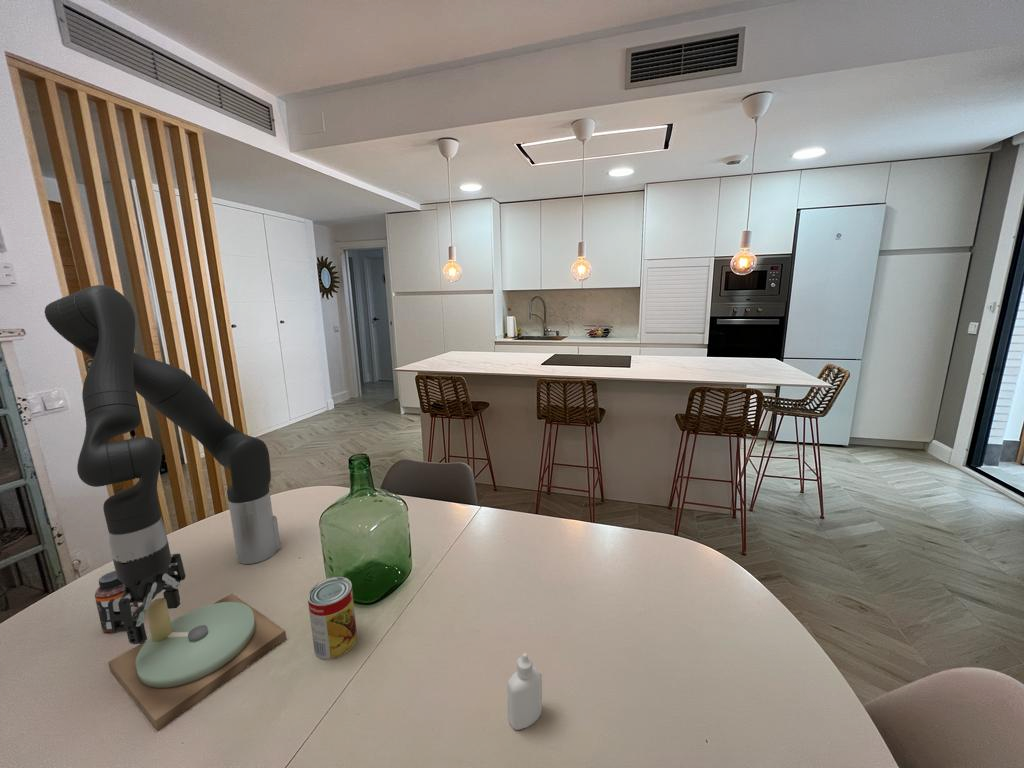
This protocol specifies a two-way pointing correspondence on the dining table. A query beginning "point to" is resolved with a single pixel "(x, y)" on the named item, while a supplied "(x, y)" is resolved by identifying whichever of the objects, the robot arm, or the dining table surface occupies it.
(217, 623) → the dial
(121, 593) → the supplement bottle
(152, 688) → the base board
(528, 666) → the eye dropper bottle
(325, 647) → the canned food
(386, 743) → the dining table surface
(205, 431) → the robot arm
